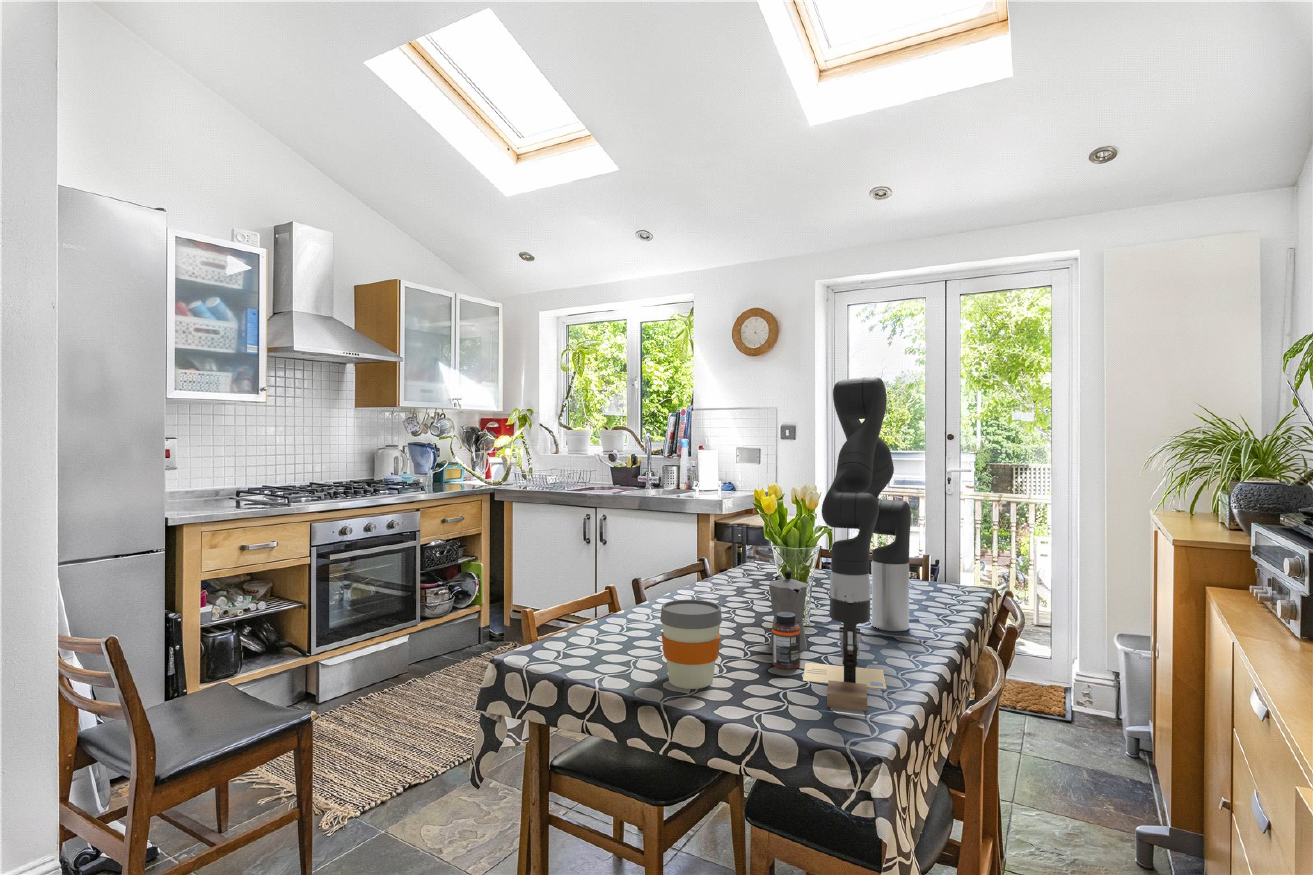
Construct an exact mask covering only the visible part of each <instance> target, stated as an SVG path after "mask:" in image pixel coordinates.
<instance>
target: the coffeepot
mask: <svg viewBox="0 0 1313 875" xmlns="http://www.w3.org/2000/svg"><path fill="white" fill-rule="evenodd" d="M792 572H793V571H789V570H787V571H784V575H785V577H784V576H782V575H780V574H777V575H776V576H775V577H774V580H771V581H769V583H768V588H769V594H770V595H769V596H770V602H771V610H772V613H773V619H772V625H771V626H773V624H774V623H775V622H776V621H777V619H776V618H777V613H779V612H790V613H794V614H795V619H796V620H795V622H796V623H797V624H798V625H799V627H800V653H801V652H804V651H807V646H808V644H807V639H806V638H807V637H806V631H805V625H804V624H805V623H804V620H803V614H804V610H805V604H806V597H807V589H808V588H807V587H808V583H806V582H803V581H799V580H795V579H793V578H792ZM768 648H770V649H772V630H771V632H770V638H769V644H768Z"/></svg>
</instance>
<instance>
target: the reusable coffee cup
mask: <svg viewBox="0 0 1313 875" xmlns="http://www.w3.org/2000/svg"><path fill="white" fill-rule="evenodd" d="M660 611H661V612H660V622H661V625H662V633H660V634H661V641H662V642H661V643H662V650H663V656H664V658H665V659H666V666H667V674H668V682H669V683H670V685H672V686H674V687H677V688H681V689H686V690H690V689H691V690H697V689H703V688H707V687H710V686H711V685H712V684H713V682H714V675H715V666H716V660H718V658H719V653H720V652H719V650H720V644H721V637H722V636H721V633H720V628H721V624H722V623H723V617H722V607H721V605H719V604H718V603H716V602H713V601H708V600H704V599H703V600H701V599H676V600H670V601H667V602H664V603H663V604H662V605H661V609H660Z"/></svg>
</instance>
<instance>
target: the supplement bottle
mask: <svg viewBox="0 0 1313 875" xmlns="http://www.w3.org/2000/svg"><path fill="white" fill-rule="evenodd" d="M776 619H777V621H776V622H775V623H774V624H773V623H772V625H773V626H772V625H771V626H772V627H771V631H772V648H771V649H772V651H771V652H772V658H771V660H772V665H773V667H775V668H778V669H781V670H796V669H798V668H800V666H801V652H800V627H799V625H798V624H797V623H796V622H795V620H796V619H795V614H794V613H790V612H779V613H777V618H776Z"/></svg>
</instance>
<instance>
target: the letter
mask: <svg viewBox="0 0 1313 875" xmlns="http://www.w3.org/2000/svg"><path fill="white" fill-rule="evenodd" d="M828 680H831V681H841V682H844V666H843V665H835V664H833V665H832V664H825V663H823V664H822V663H813V662H812V663H811V662H805V665H804V671H803V678H802V681H803V682H810V683H811V682H813V683H822V684H823V683H825V684H828ZM856 683H860V684H866V685H867V688H870V689H871V688H872V689H873V688H874V689H882V690H887V684H886V680H885V674H884V670H883V669H877V668H867V667H858V666H857V667H856Z"/></svg>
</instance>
